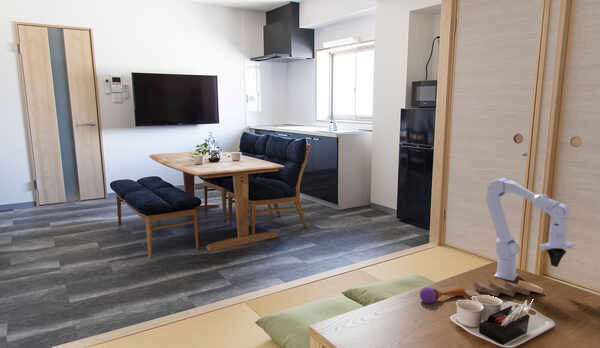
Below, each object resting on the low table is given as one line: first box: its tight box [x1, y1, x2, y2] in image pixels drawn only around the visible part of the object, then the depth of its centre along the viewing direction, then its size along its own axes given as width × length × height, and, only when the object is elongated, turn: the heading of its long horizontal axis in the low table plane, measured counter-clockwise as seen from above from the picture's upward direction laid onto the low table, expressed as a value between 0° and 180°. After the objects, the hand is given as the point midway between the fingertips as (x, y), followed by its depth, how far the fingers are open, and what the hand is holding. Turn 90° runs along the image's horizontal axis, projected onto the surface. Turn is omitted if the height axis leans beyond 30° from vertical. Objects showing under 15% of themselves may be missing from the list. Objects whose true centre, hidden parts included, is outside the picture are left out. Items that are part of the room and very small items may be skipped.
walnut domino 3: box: [488, 281, 516, 297], centre depth 166 cm, size 2×5×8 cm
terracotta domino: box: [516, 279, 544, 294], centre depth 169 cm, size 2×5×8 cm
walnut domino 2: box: [473, 281, 501, 297], centre depth 166 cm, size 2×5×8 cm
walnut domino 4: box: [503, 281, 531, 296], centre depth 167 cm, size 2×5×8 cm
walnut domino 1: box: [464, 289, 490, 300], centre depth 165 cm, size 2×5×8 cm
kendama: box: [419, 286, 465, 304], centre depth 162 cm, size 6×6×20 cm
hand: (554, 265), depth 170 cm, fingers closed
